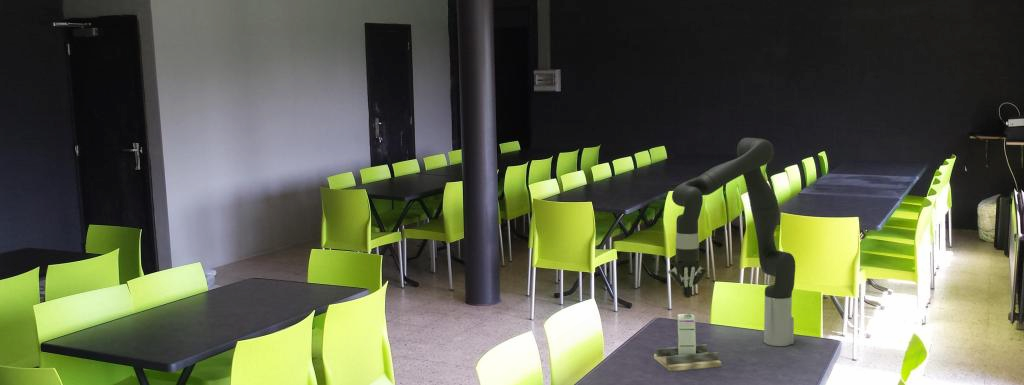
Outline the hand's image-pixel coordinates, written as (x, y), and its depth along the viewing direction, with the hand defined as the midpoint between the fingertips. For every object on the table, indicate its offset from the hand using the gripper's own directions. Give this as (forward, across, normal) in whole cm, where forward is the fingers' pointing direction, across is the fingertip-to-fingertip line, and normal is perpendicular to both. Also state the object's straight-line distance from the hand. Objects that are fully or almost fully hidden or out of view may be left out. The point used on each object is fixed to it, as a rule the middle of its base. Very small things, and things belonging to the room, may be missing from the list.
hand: (687, 297), depth 296 cm
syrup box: (+21, 0, 0) cm, 21 cm away
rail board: (+22, 0, 0) cm, 22 cm away
